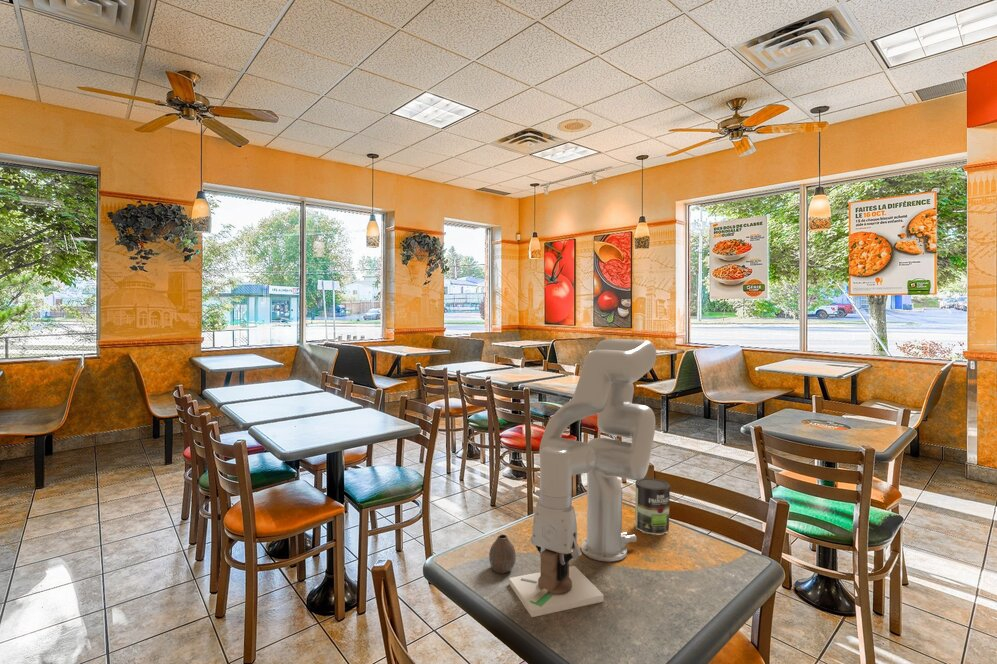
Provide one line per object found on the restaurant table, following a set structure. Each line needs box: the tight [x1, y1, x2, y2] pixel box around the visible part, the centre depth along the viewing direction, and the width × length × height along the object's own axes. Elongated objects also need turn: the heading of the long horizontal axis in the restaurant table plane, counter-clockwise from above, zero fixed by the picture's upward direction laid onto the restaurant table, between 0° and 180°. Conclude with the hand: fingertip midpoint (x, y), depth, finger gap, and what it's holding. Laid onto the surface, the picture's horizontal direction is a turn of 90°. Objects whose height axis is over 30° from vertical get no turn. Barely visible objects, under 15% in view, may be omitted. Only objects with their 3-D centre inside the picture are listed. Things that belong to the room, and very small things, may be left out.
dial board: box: [508, 565, 605, 618], centre depth 117 cm, size 18×14×2 cm
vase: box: [488, 534, 517, 574], centre depth 128 cm, size 7×7×9 cm
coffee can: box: [634, 477, 671, 535], centre depth 153 cm, size 10×10×14 cm
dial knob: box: [532, 549, 572, 602], centre depth 115 cm, size 13×8×9 cm, turn 141°
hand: (554, 575), depth 117 cm, fingers closed on dial knob, 3 cm apart
